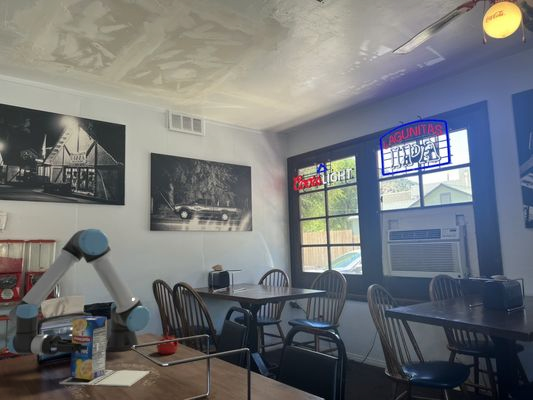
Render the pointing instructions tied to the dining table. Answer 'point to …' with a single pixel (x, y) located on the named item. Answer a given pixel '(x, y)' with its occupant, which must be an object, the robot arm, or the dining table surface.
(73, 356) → the blue cardboard box
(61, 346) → the robot arm
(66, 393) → the dining table surface
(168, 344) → the pomegranate
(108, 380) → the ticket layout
